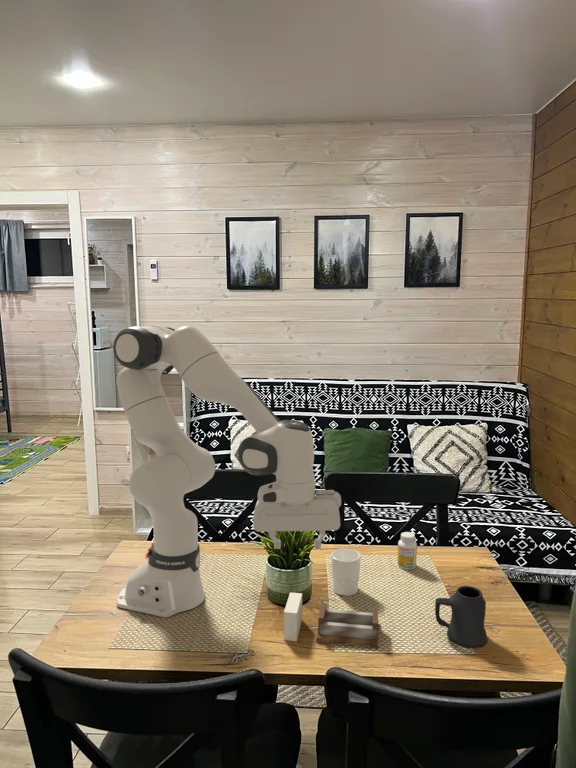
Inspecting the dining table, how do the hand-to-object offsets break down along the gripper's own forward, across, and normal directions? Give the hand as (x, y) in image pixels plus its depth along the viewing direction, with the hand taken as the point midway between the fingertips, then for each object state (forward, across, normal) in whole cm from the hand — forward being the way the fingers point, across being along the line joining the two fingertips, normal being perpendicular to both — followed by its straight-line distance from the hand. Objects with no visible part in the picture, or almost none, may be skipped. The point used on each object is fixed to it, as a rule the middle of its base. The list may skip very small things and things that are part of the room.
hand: (297, 547), depth 135 cm
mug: (+22, -38, +2) cm, 43 cm away
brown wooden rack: (+21, -11, +1) cm, 24 cm away
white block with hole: (+20, +2, 0) cm, 20 cm away
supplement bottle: (+21, -31, -34) cm, 50 cm away
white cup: (+20, -12, -19) cm, 30 cm away
